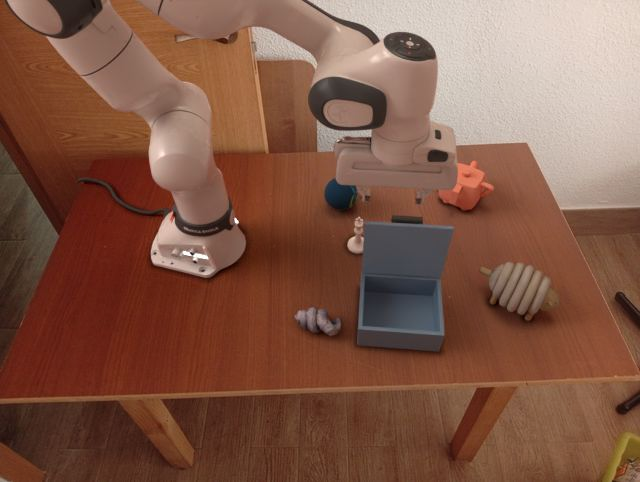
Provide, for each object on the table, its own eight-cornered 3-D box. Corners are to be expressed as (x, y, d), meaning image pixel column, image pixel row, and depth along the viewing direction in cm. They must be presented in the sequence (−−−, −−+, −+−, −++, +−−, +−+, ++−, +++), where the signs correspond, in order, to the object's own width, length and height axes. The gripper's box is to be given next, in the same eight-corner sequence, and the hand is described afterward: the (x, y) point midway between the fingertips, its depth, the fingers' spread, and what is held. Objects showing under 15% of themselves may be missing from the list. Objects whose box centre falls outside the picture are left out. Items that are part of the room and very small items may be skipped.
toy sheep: (544, 338, 99) (564, 309, 90) (464, 305, 104) (476, 275, 96) (555, 299, 105) (575, 269, 96) (479, 270, 110) (491, 239, 102)
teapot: (471, 179, 129) (480, 151, 122) (488, 211, 122) (499, 183, 114) (430, 185, 128) (435, 156, 121) (444, 217, 121) (452, 189, 113)
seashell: (341, 331, 103) (296, 324, 104) (344, 307, 101) (297, 301, 103) (337, 341, 97) (290, 334, 99) (340, 317, 96) (291, 309, 98)
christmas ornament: (339, 222, 121) (339, 194, 113) (317, 203, 125) (316, 175, 117) (363, 206, 124) (365, 177, 116) (342, 188, 128) (342, 160, 120)
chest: (438, 351, 98) (444, 335, 92) (357, 345, 99) (358, 329, 94) (435, 295, 106) (440, 277, 101) (360, 290, 108) (361, 272, 102)
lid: (453, 229, 90) (451, 210, 93) (364, 223, 91) (365, 205, 95) (441, 277, 100) (439, 259, 104) (361, 272, 102) (362, 254, 105)
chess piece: (366, 254, 114) (368, 227, 106) (345, 252, 115) (346, 224, 107) (369, 239, 117) (371, 211, 109) (349, 236, 118) (350, 208, 110)
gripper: (331, 149, 75) (333, 210, 85) (466, 155, 73) (450, 216, 83) (335, 124, 79) (336, 185, 89) (463, 128, 77) (448, 190, 87)
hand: (392, 200), depth 86 cm, fingers open, 8 cm apart
